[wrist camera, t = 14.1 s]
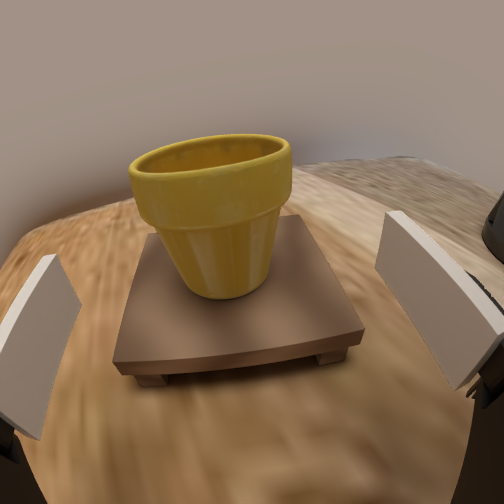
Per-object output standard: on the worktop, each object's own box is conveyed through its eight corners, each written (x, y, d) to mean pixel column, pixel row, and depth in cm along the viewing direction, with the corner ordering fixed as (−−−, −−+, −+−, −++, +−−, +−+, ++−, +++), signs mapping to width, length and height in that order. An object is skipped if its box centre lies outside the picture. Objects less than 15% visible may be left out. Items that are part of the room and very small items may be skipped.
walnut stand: (298, 246, 32) (299, 214, 29) (352, 363, 18) (364, 328, 16) (157, 264, 30) (148, 233, 28) (135, 392, 17) (112, 361, 15)
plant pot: (178, 239, 27) (158, 140, 21) (286, 234, 26) (284, 129, 21) (145, 318, 18) (97, 185, 13) (297, 318, 18) (303, 165, 12)
